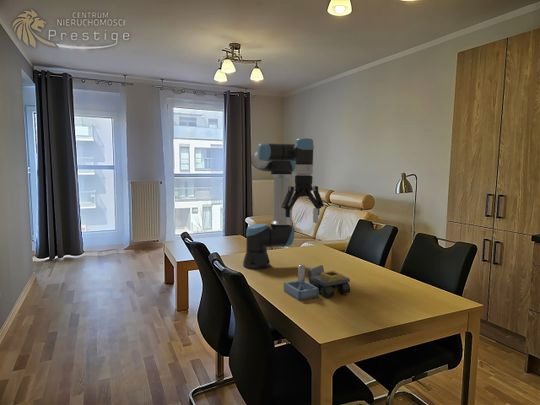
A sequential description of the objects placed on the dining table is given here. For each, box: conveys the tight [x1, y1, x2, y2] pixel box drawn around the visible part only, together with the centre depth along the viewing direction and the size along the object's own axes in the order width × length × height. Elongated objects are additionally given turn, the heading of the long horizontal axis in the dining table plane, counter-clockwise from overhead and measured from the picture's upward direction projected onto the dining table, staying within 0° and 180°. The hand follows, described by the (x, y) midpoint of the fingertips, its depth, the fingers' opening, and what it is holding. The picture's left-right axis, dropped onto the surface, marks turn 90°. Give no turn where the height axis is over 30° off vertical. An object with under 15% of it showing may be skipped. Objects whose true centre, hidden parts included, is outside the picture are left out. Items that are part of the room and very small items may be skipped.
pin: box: [297, 264, 306, 291], centre depth 160 cm, size 3×3×12 cm
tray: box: [283, 280, 320, 302], centre depth 161 cm, size 13×10×4 cm
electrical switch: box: [306, 264, 325, 284], centre depth 173 cm, size 9×5×9 cm, turn 138°
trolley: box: [311, 270, 351, 299], centre depth 163 cm, size 13×14×9 cm
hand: (302, 223), depth 157 cm, fingers open, 13 cm apart
